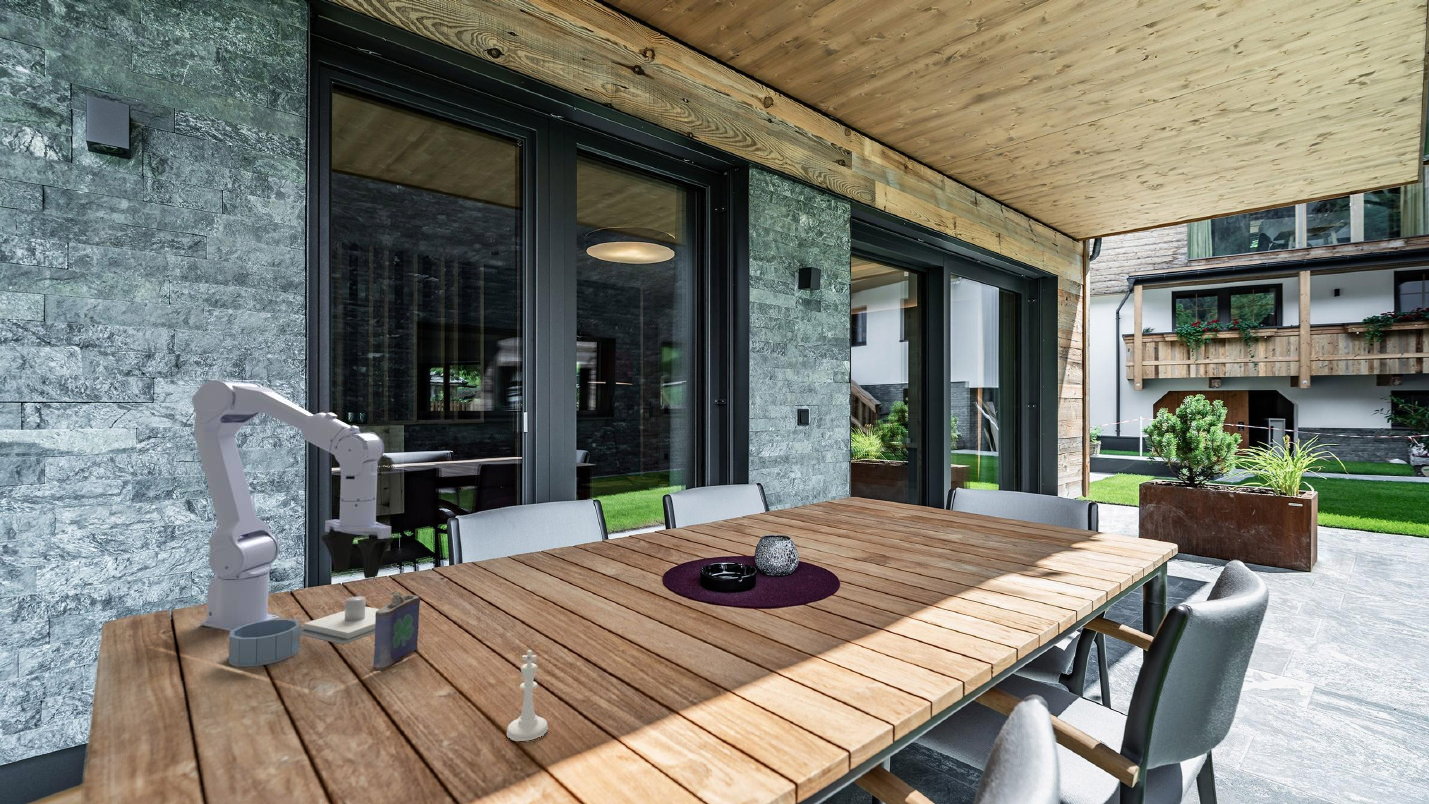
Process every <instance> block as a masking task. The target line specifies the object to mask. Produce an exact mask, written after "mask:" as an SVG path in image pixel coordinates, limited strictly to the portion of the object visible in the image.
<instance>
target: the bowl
mask: <svg viewBox="0 0 1429 804" xmlns="http://www.w3.org/2000/svg"><path fill="white" fill-rule="evenodd" d="M300 627H301V622H300V620H297V619H292V618H278V619H271V620H264V621H258V622H253V623H250V624H246V625H243V626H240V627H238V628H236V629H234V630H232V631H229V639H228V640H229V641H228V664H230V665H231V666H234V667H241V668H242V667H259V666H265V665H269V664H275V663H278V662H281V661H284V660H286V659H289V658H292V657H293V656H294V655H296V654H297V653H298V652H299V650H300V649H301V648H300V646H301V635H300Z"/></svg>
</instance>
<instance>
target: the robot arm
mask: <svg viewBox="0 0 1429 804" xmlns="http://www.w3.org/2000/svg"><path fill="white" fill-rule="evenodd" d="M191 403H192V406H193V409H194V413H195V420H194V425H193V426H194V428H193V434H194V439H195V441H196V445H197V450H198V454H199V456H200V457H199V458H200V461H201V465H202V468H203V473H204V475H205V480H206V482H207V483H206V484H207V487H208V491H209V495H210V498H211V502H212V506H213V509H214V513H215V516H216V521H217V524H218V527H217V528H216V530H215V531H214V532H213V534H212V535H211V536H210V537H209V539H208V544H209V553H208V554H209V555H208V566H209V568H210V570H211V572H212V573H214V575H215V576H214V577H213V578H212V579H211V580H210V582H209V584H208V587H207V592H206V593H207V594H206V620H203V621H200V625H201V626H205V627H209V628H215V629H220V630H224V631H228V632H230V631H232V630H234V629H236V628H238V627H240V626H243V625H246V624H250V623H253V622H258V621H264V620H271V619H280V616H278V615H274V614H270V613H268V611H269V589H270V588H269V584H270V583H269V582H270V581H269V580H270V570H271V569H272V564H273V563H274V562H275V561H276V560H277V559H278V557H279V555H280V551H281V550H280V549H281V548H280V543H279V541H278V539H277V538H276V537H275V536H274V535H273V533H272V532H271V530H270V526H269V524H268V523H266V522H265V521H264V520H262V519H260V518H259V517H257V515H256V512H255V508H254V504H253V500H252V496H251V493H250V489H249V486H248V485H249V484H248V481H247V478H246V474H245V470H244V466H243V463H242V459H241V455H240V453H239V452H240V451H239V448H238V445H237V441H236V438H235V437H236V434H237V433H238V432H239V431H240V429H242V427H243V426H245V425H247V424H248V423H249V422H250V421H251V420H253V419H254V418H256V417H257V416H258V415H260V414H261V413H262V414H264V415H266V416H268V417H271V418H273V419H275V420H277V421H280V422H282V423H285V424H287V425H289V426H290V427H293V428H295V429H298V430H300V431H301V436H302V438H303V440H305V441H306V442H308V443H310V444H312V445H314V446H316V447H318V448H320V449H322V450H324V451H327V452H328V453H329V454H331V455H333V456H334V458H335V460H336V462H338V464H339V473H340V495H339V497H340V499H339V519H329V520H325V522H324V532H326V533H327V532H328V533H327V534H323V535H321V540H322V542H323V543H324V545H325V547H326V548H327V550H328V552H329V555H330V557H331V562H332V566H333V570H334V573H335V574H339V573H340V574H341V573H344V572H348V571H349V567H350V562H351V553H352V552H351V551H352V548H353V544H354V541H355V538H356V536H357V535H358V536H359V535H360V536H366V538H359V539H357V543H358V546H359V548H360V552H361V557H362V565H363V567H362V568H363V569H362V570H363V577H364V579H371V578H375V577H377V576H378V575H379V571H380V568H381V565H382V561H383V558H384V556H385V554H386V552H387V550H388V548H389V546H391V544H392V543H393V541H394V540H393V539H394V538H393V536H392V526H390V525H387V524H383V523H380V522H377V493H378V491H377V489H378V488H377V487H378V461H379V460H381V458H382V456H383V455H384V453H385V444H384V442H383V439H382V438H381V437H380V436H378V435H377V434H376V433H375V432H372V431H365V432H361V431H360V427H359V426H357V425H349V424H347V423H345V422H343V421H341V420H340V419H337V418H338V415H337V414H335V413H334V412H326V413H325V412H318V413H316V414H312V412H310V411H307V410H306V409H304V408H302V407H300V406H299V405H297V404H296V403H294V402H292V401H290V400H288V399H287V398H286V397H283V396H282V395H280V394H278V393H276V392H275V391H274V390H273V389H271V388H269V387H266V386H262V384H260V383H257V382H254V381H253V382H252V381H250V382H249V381H248V382H242V381H241V382H238V381H223V380H217V379H211V380H208V381H206V382H204V383H203V384H202V385H201V386H200V387H199V388H198V389H197V391H196V392H195V393H194V395H193V396H192V397H191Z"/></svg>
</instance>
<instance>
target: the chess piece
mask: <svg viewBox="0 0 1429 804" xmlns="http://www.w3.org/2000/svg"><path fill="white" fill-rule="evenodd" d="M532 651H533V650H531V649H528V650H527V654H523V655H522V656H521V657H522V658H521V660H522V661H526V663H524V664H523V665H521V667H520V671H521V674H522V679H523V681H524V682H522V683H520V685H519V689H520V690H521V691H524V692H523V693H524V694H523V700H522V701H523V703H522V708H521V713H520V716H518V718H516V719H514V720H512V721H511V722H510V723H509V724H508V726H507V731H506V736H507V738H508V739H509V738H510V739H509V740H512V741H514V742H519V741H525V740H532V739H535V738H538V737H540V738H542V737H544V736H545V735H546V734H547V733H548V731H547V730H549V726H548V721H547V720H546V719H545V718H543V717H541V716H538V715H537V714H536V713H535V712H536V711H535V705H534V692H533V690H535V689H537V688H538V683H537V682H536V681H534V680H535V676H536V672H537V670H538V665H537V664H535V663H533V662H532V661H536V660H537V658H538V657H537V656H538V655H535V654H533V655H532ZM546 732H547V733H546ZM545 733H546V734H545ZM544 734H545V735H544ZM541 736H542V737H541ZM538 739H539V738H538ZM532 741H533V740H532Z"/></svg>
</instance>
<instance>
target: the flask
mask: <svg viewBox="0 0 1429 804" xmlns="http://www.w3.org/2000/svg"><path fill="white" fill-rule="evenodd" d="M391 595H392V598H391V599H390V601H391V602H390V603H388V604H385V605H384V606H382V607H381V608H378V609H379V610H377V611H376V615H375V618H376V620H375V633H374V650H373V653H374V655H373V668H374V669H376V670H375V672H377V671H379V672H380V671H381V672H384V671H385V670H389V669H391V668H393V667H394V666H395V665H396V664H399V663H401V662H403V661H404V659H405V658H404V657H405V656H406V655H408V654H409V655H410V654H411V653H413V652H416V650H418V640H419V639H418V637H419V621H420V604H421V600H420V595H413V594H406V595H404V596H402V595H403V592H401V591H397V590H393V591H392V592H390V593H389V595H388V596H391Z"/></svg>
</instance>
